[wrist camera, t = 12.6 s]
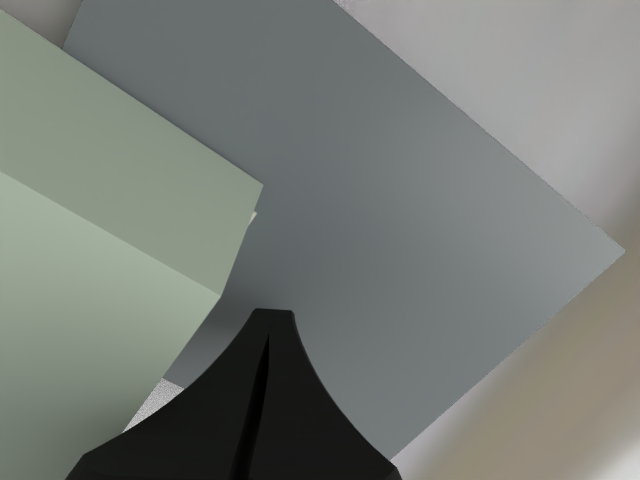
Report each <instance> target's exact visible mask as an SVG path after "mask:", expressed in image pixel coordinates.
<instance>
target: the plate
mask: <svg viewBox="0 0 640 480" xmlns="http://www.w3.org/2000/svg"><path fill="white" fill-rule="evenodd" d="M61 50H63V51H64V52H66V53H67V54H69V55H70V56H72V57H73V58H75V59H76V60H78V61H79V62H81V63H82V64H84V65H85V66H87V67H88V68H90V69H91V70H93V71H94V72H96V73H97V74H99V75H100V76H102V77H103V78H105V79H106V80H108V81H109V82H111V83H112V84H114V85H115V86H117V87H118V88H120V89H121V90H123V91H124V92H126V93H127V94H129V95H130V96H132V97H133V98H135V99H136V100H138V101H139V102H141V103H142V104H144V105H145V106H147V107H148V108H150V109H151V110H153V111H154V112H156V113H157V114H159V115H160V116H162V117H163V118H165V119H166V120H168V121H169V122H170V123H172V124H173V125H175V126H176V127H178V128H179V129H181V130H182V131H184V132H185V133H187V134H188V135H190V136H191V137H193V138H194V139H196V140H197V141H199V142H200V143H202V144H203V145H205V146H206V147H208V148H209V149H211V150H212V151H214V152H215V153H217V154H218V155H220V156H221V157H223V158H224V159H226V160H227V161H229V162H230V163H232V164H233V165H235V166H236V167H238V168H239V169H241V170H242V171H244V172H245V173H247V174H248V175H250V176H251V177H253V178H254V179H256V180H257V181H259V182H260V183H262V184H263V188H262V190H261V193H260V196H259V198H258V201H257V204H256V206H255V209H254V211H253V214H252V217H251V219H250V222H249V225H248V227H247V230H246V232H245V235H244V238H243V240H242V243H241V246H240V248H239V251H238V254H237V256H236V259H235V261H234V264H233V267H232V269H231V272H230V275H229V277H228V280H227V282H226V285H225V288H224V290H223V293H222V296H221V297H220V299H219V300H218V301H217V303H216V304H215V306H214V307H213V308H212V310H211V311H210V312H209V314H208V315H207V317H206V318H205V319H204V321H203V322H202V323H201V325H200V326H199V327H198V329H197V330H196V332H195V333H194V334H193V336H192V337H191V338H190V340H189V341H188V343H187V344H186V345H185V347H184V348H183V349H182V351H181V352H180V354H179V355H178V356H177V358H176V359H175V360H174V362H173V363H172V365H171V366H170V367H169V369H168V370H167V371H166V373H165V374H164V376H163V377H162V378H164V379H166V380H168V381H170V382H172V383H174V384H176V385H178V386H180V387H182V388H184V389H186V388H187V387H188V386H189V385H190V384H191V383H193V382H194V381H195V380H196V379H197V378H198V377H199V376H200V375H201V374H202V373H203V372H204V371H205V370H206V369H207V368H208V367H209V366H210V365H211V364H212V363H213V362H214V361H215V360H216V359H217V358H218V357H219V355H220V354H221V353H222V352H223V351H224V350H225V349H226V348H227V346H228V345H229V344H230V343H231V341H232V340H233V339H234V338H235V336H236V335H237V334H238V332H239V331H240V330H241V328H242V327H243V325H244V324H245V323H246V321H247V320H248V318H249V316H250V315H251V313H252V311H253V310H254V309H256V308H263V309H279V310H292V311H293V313H294V314H295V322H296V326H297V329H298V332H299V335H300V338H301V341H302V344H303V346H304V348H305V351H306V353H307V355H308V357H309V359H310V362H311V364H312V366H313V367H314V369H315V371H316V373H317V375H318V377H319V378H320V380H321V382H322V383H323V385H324V387H325V388H326V390H327V391H328V393H329V394H330V396H331V397H332V399H333V400H334V401H335V403H336V404H337V406H338V407H339V408H340V410H341V411H342V412H343V413H344V414H345V416H346V417H347V418H348V419H349V420H350V422H351V423H352V424H353V425H354V426H355V428H356V429H357V430H358V431H359V432H360V433H361V434H362V435H363V437H364V438H365V439H366V440H367V441H368V442H369V443H370V444H371V445H372V446H373V447H374V448H375V449H377V450H378V451H379V452H380V453H381V454H382V455H383V456H384V457H386V458H387V459H388V460H389V461H390V460H391V459H392V458H393V457H394V456H395V455H396V454H397V453H399V452H400V451H401V450H402V449H403V448H404V447H405V446H407V445H408V444H409V443H410V442H411V441H412V440H413V439H414V438H416V437H417V436H418V435H419V434H420V433H421V432H422V431H424V430H425V429H426V428H427V427H428V426H429V425H430V424H431V423H433V422H434V421H435V420H436V419H437V418H438V417H439V416H440V415H442V414H443V413H444V412H445V411H446V410H447V409H448V408H450V407H451V406H452V405H453V404H454V403H455V402H456V401H457V400H459V399H460V398H461V397H462V396H463V395H464V394H465V393H466V392H468V391H469V390H470V389H471V388H472V387H473V386H474V385H476V384H477V383H478V382H479V381H480V380H481V379H482V378H483V377H485V376H486V375H487V374H488V373H489V372H490V371H491V370H493V369H494V368H495V367H496V366H497V365H498V364H499V363H500V362H502V361H503V360H504V359H505V358H506V357H507V356H508V355H509V354H511V353H512V352H513V351H514V350H515V349H516V348H517V347H519V346H520V345H521V344H522V343H523V342H524V341H525V340H526V339H528V338H529V337H530V336H531V335H532V334H533V333H534V332H536V331H537V330H538V329H539V328H540V327H541V326H542V325H543V324H545V323H546V322H547V321H548V320H549V319H550V318H551V317H552V316H554V315H555V314H556V313H557V312H558V311H559V310H560V309H562V308H563V307H564V306H565V305H566V304H567V303H568V302H569V301H571V300H572V299H573V298H574V297H575V296H576V295H577V294H578V293H580V292H581V291H582V290H583V289H584V288H585V287H586V286H588V285H589V284H590V283H591V282H592V281H593V280H594V279H595V278H597V277H598V276H599V275H600V274H601V273H602V272H603V271H605V270H606V269H607V268H608V267H609V266H610V265H611V264H612V263H614V262H615V261H616V260H617V259H618V258H619V257H620V256H621V255H623V254H624V253H625V252H626V250H624V249H623V248H622V247H621V246H620V245H618V244H617V243H616V242H615V241H614V240H613V239H611V238H610V237H609V236H608V235H607V234H606V233H604V232H603V231H602V230H601V229H600V228H599V227H597V226H596V225H595V224H594V223H593V222H592V221H590V220H589V219H588V218H587V217H586V216H585V215H583V214H582V213H581V212H580V211H579V210H577V209H576V208H575V207H574V206H573V205H572V204H570V203H569V202H568V201H567V200H566V199H565V198H563V197H562V196H561V195H560V194H559V193H558V192H556V191H555V190H554V189H553V188H552V187H551V186H549V185H548V184H547V183H546V182H545V181H544V180H542V179H541V178H540V177H539V176H538V175H537V174H535V173H534V172H533V171H532V170H531V169H529V168H528V167H527V166H526V165H525V164H524V163H522V162H521V161H520V160H519V159H518V158H517V157H515V156H514V155H513V154H512V153H511V152H510V151H508V150H507V149H506V148H505V147H504V146H503V145H501V144H500V143H499V142H498V141H497V140H496V139H494V138H493V137H492V136H491V135H490V134H489V133H487V132H486V131H485V130H484V129H483V128H481V127H480V126H479V125H478V124H477V123H476V122H474V121H473V120H472V119H471V118H470V117H469V116H467V115H466V114H465V113H464V112H463V111H462V110H460V109H459V108H458V107H457V106H456V105H455V104H453V103H452V102H451V101H450V100H449V99H448V98H446V97H445V96H444V95H443V94H442V93H441V92H439V91H438V90H437V89H436V88H435V87H433V86H432V85H431V84H430V83H429V82H428V81H426V80H425V79H424V78H423V77H422V76H421V75H419V74H418V73H417V72H416V71H415V70H414V69H412V68H411V67H410V66H409V65H408V64H407V63H405V62H404V61H403V60H402V59H401V58H400V57H398V56H397V55H396V54H395V53H394V52H393V51H391V50H390V49H389V48H388V47H387V46H385V45H384V44H383V43H382V42H381V41H380V40H378V39H377V38H376V37H375V36H374V35H373V34H371V33H370V32H369V31H368V30H367V29H366V28H364V27H363V26H362V25H361V24H360V23H359V22H357V21H356V20H355V19H354V18H353V17H352V16H350V15H349V14H348V13H347V12H346V11H345V10H343V9H342V8H341V7H340V6H339V5H337V4H336V3H335V2H334V1H333V0H82V2H81V5H80V7H79V9H78V12H77V14H76V16H75V19H74V21H73V23H72V26H71V28H70V30H69V33H68V35H67V37H66V40H65V42H64V44H63V47H62V49H61Z"/></svg>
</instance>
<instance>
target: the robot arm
mask: <svg viewBox="0 0 640 480" xmlns="http://www.w3.org/2000/svg"><path fill="white" fill-rule="evenodd" d="M65 480H402V478H401V476H400V473H399V471H398V469H397V467H396V466H394V465H393V464H392V463H391V462H390V461H389V460H388V459H387V458H386V457H384V456H383V455H382V454H381V453H380V452H379V451H378V450H377V449H375V448H374V447H373V446H372V445H371V444H370V443H369V442H368V441H367V440H366V439H365V438H364V437H363V435H362V434H361V433H360V432H359V431H358V430H357V429H356V428H355V426H354V425H353V424H352V423H351V422H350V420H349V419H348V418H347V417H346V416H345V414H344V413H343V412H342V411H341V410H340V408H339V407H338V406H337V404H336V403H335V401H334V400H333V399H332V397H331V396H330V394H329V393H328V391H327V390H326V388H325V387H324V385H323V383H322V382H321V380H320V378H319V377H318V375H317V373H316V371H315V369H314V367H313V366H312V364H311V362H310V359H309V357H308V355H307V353H306V351H305V348H304V346H303V344H302V341H301V338H300V335H299V332H298V329H297V326H296V322H295V314H294V313H293V311H292V310H279V309H263V308H256V309H254V310H253V311H252V313H251V315H250V316H249V318H248V320H247V321H246V323H245V324H244V325H243V327H242V328H241V330H240V331H239V332H238V334H237V335H236V336H235V338H234V339H233V340H232V341H231V343H230V344H229V345H228V346H227V348H226V349H225V350H224V351H223V352H222V353H221V354H220V355H219V357H218V358H217V359H216V360H215V361H214V362H213V363H212V364H211V365H210V366H209V367H208V368H207V369H206V370H205V371H204V372H203V373H202V374H201V375H200V376H199V377H198V378H197V379H196V380H195V381H194V382H193V383H191V384H190V385H189V386H188V387H187V388H186V389H185V390H183V391H182V392H181V393H180V394H178V395H177V396H176V397H175V398H174V399H172V400H171V401H170V402H168V403H167V404H166V405H165V406H163V407H162V408H160V409H159V410H158V411H156V412H155V413H153V414H152V415H150V416H149V417H147V418H146V419H144V420H143V421H141V422H140V423H138V424H137V425H135V426H134V427H132V428H130V429H129V430H127V431H125V432H124V433H122V434H120V435H118V436H117V437H115V438H113V439H111V440H109V441H107V442H106V443H104V444H102V445H100V446H98V447H96V448H95V449H93V450H91V451H89V452H87V453H85V454H83V455H82V457H81V458H80V459H79V461H78V462H77V464H76V465H75V466H74V468H73V469H72V470H71V472H70V473H69V474H68V476H67V477H66V478H65Z"/></svg>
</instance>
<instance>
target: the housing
mask: <svg viewBox="0 0 640 480" xmlns="http://www.w3.org/2000/svg"><path fill="white" fill-rule="evenodd" d="M262 188H263V184H262V183H260V182H259V181H257V180H256V179H254V178H253V177H251V176H250V175H248V174H247V173H245V172H244V171H242V170H241V169H239V168H238V167H236V166H235V165H233V164H232V163H230V162H229V161H227V160H226V159H224V158H223V157H221V156H220V155H218V154H217V153H215V152H214V151H212V150H211V149H209V148H208V147H206V146H205V145H203V144H202V143H200V142H199V141H197V140H196V139H194V138H193V137H191V136H190V135H188V134H187V133H185V132H184V131H182V130H181V129H179V128H178V127H176V126H175V125H173V124H172V123H170V122H169V121H168V120H166V119H165V118H163V117H162V116H160V115H159V114H157V113H156V112H154V111H153V110H151V109H150V108H148V107H147V106H145V105H144V104H142V103H141V102H139V101H138V100H136V99H135V98H133V97H132V96H130V95H129V94H127V93H126V92H124V91H123V90H121V89H120V88H118V87H117V86H115V85H114V84H112V83H111V82H109V81H108V80H106V79H105V78H103V77H102V76H100V75H99V74H97V73H96V72H94V71H93V70H91V69H90V68H88V67H87V66H85V65H84V64H82V63H81V62H79V61H78V60H76V59H75V58H73V57H72V56H70V55H69V54H67V53H66V52H64V51H63V50H61V49H60V48H58V47H57V46H55V45H54V44H52V43H51V42H49V41H48V40H46V39H45V38H43V37H42V36H40V35H39V34H37V33H36V32H34V31H33V30H31V29H30V28H29V27H27V26H26V25H24V24H23V23H21V22H20V21H18V20H17V19H15V18H14V17H12V16H11V15H9V14H8V13H6V12H5V11H3V10H2V9H0V480H65V478H66V477H67V476H68V474H69V473H70V472H71V470H72V469H73V468H74V466H75V465H76V464H77V462H78V461H79V459H80V458H81V457H82V455H83V454H85V453H87V452H89V451H91V450H93V449H95V448H96V447H98V446H100V445H102V444H104V443H106V442H107V441H109V440H111V439H113V438H115V437H117V436H118V435H120V434H121V433H122V432H123V430H124V429H125V428H126V426H127V425H128V424H129V422H130V421H131V420H132V418H133V417H134V415H135V414H136V413H137V411H138V410H139V409H140V407H141V406H142V404H143V403H144V402H145V400H146V399H147V398H148V396H149V395H150V393H151V392H152V391H153V389H154V388H155V387H156V385H157V384H158V382H159V381H160V380H161V378H162V377H163V376H164V374H165V373H166V371H167V370H168V369H169V367H170V366H171V365H172V363H173V362H174V360H175V359H176V358H177V356H178V355H179V354H180V352H181V351H182V349H183V348H184V347H185V345H186V344H187V343H188V341H189V340H190V338H191V337H192V336H193V334H194V333H195V332H196V330H197V329H198V327H199V326H200V325H201V323H202V322H203V321H204V319H205V318H206V317H207V315H208V314H209V312H210V311H211V310H212V308H213V307H214V306H215V304H216V303H217V301H218V300H219V299H220V297H221V296H222V293H223V290H224V288H225V285H226V282H227V280H228V277H229V275H230V272H231V269H232V267H233V264H234V261H235V259H236V256H237V254H238V251H239V248H240V246H241V243H242V240H243V238H244V235H245V232H246V230H247V227H248V225H249V222H250V219H251V217H252V214H253V211H254V209H255V206H256V204H257V201H258V198H259V196H260V193H261V190H262Z"/></svg>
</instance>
